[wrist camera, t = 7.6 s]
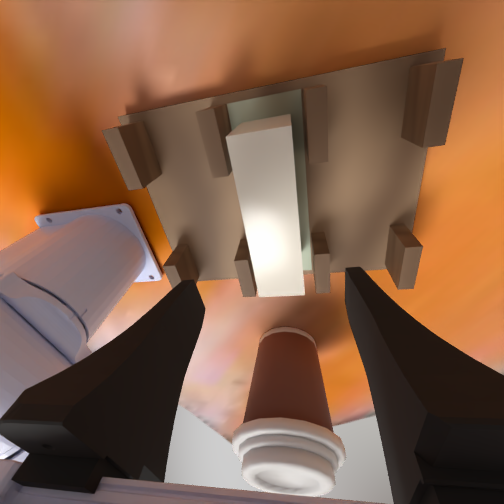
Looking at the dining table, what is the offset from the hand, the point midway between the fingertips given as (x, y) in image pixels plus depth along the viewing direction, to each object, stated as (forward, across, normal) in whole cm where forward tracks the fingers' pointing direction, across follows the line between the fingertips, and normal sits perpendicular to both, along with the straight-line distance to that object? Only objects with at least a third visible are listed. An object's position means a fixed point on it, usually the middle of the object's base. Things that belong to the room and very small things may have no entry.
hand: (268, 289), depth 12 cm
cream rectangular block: (+8, 0, -2) cm, 8 cm away
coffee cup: (+10, +1, +17) cm, 19 cm away
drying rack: (+9, 0, -1) cm, 9 cm away
